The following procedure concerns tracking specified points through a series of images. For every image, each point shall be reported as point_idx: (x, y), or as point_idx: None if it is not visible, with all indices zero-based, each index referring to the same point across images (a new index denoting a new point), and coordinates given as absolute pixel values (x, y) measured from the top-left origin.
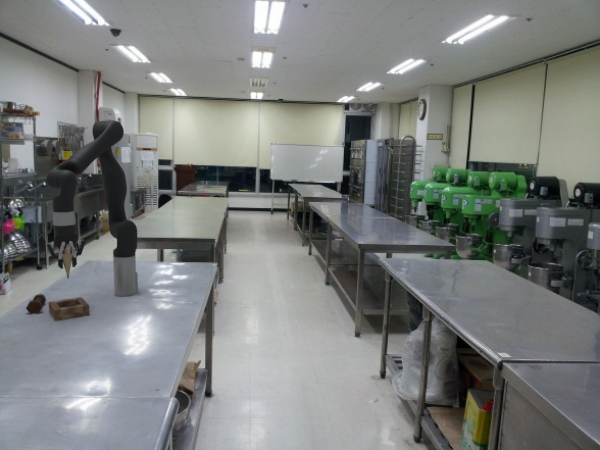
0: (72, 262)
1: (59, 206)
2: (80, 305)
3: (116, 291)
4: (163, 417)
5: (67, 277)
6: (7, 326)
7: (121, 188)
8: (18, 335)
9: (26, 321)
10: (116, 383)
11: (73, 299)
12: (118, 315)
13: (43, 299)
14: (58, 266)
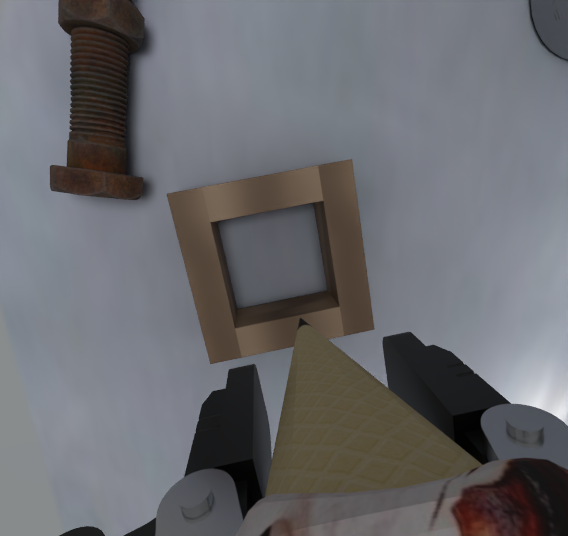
0: (412, 406)
1: None
2: (333, 320)
3: (555, 14)
4: None
5: (298, 326)
6: (18, 342)
7: None
8: (89, 456)
9: (90, 302)
10: None
11: (305, 195)
12: (465, 353)
13: (127, 38)
14: (210, 399)
